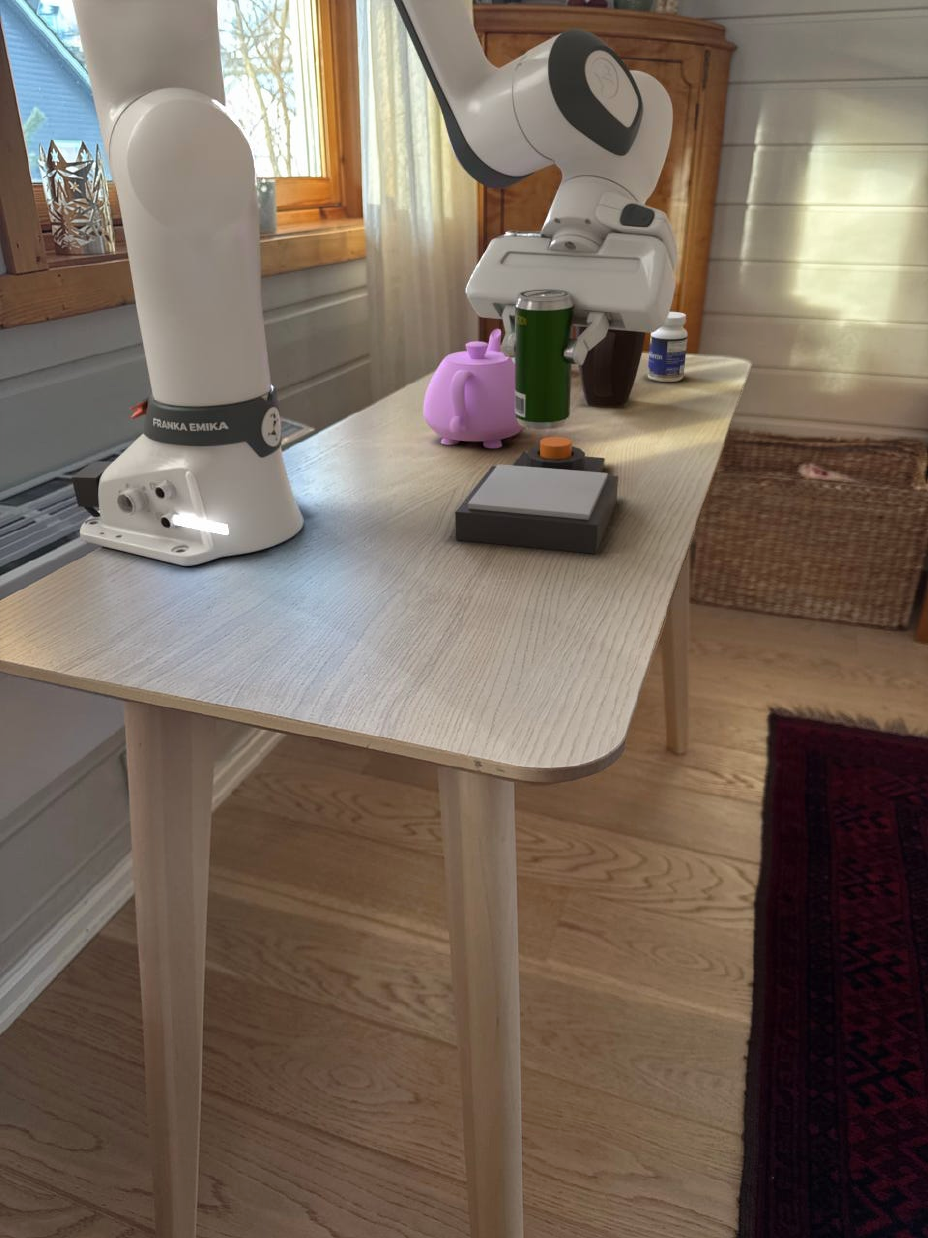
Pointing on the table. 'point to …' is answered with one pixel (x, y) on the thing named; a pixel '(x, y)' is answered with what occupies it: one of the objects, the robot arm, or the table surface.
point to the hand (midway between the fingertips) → (540, 357)
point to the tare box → (561, 461)
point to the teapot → (473, 395)
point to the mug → (611, 367)
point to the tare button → (555, 448)
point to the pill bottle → (668, 350)
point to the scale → (538, 508)
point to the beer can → (542, 358)
